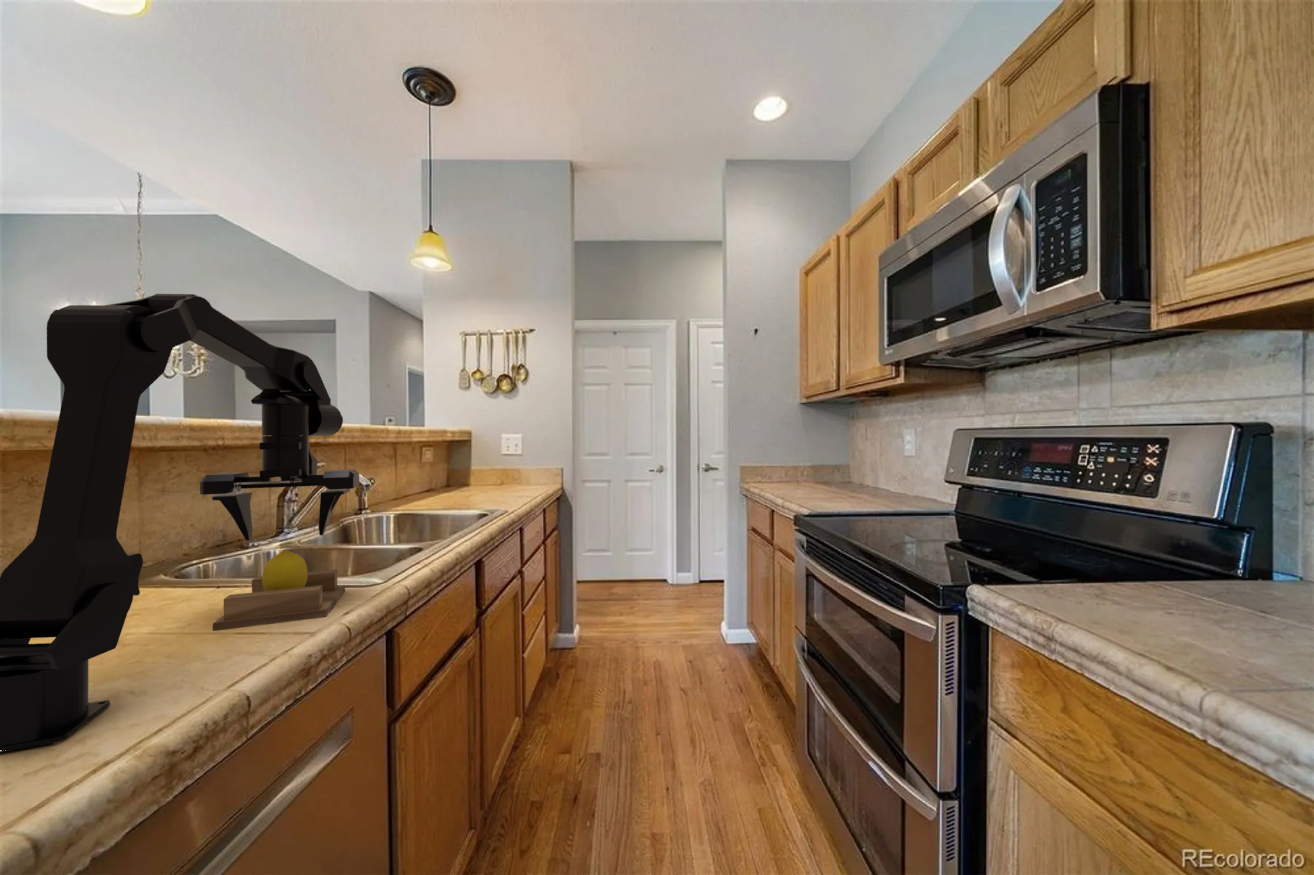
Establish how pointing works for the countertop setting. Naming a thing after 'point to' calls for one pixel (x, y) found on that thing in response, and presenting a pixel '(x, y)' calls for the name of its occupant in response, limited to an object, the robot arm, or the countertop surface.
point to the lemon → (285, 572)
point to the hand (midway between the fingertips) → (286, 537)
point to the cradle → (281, 602)
